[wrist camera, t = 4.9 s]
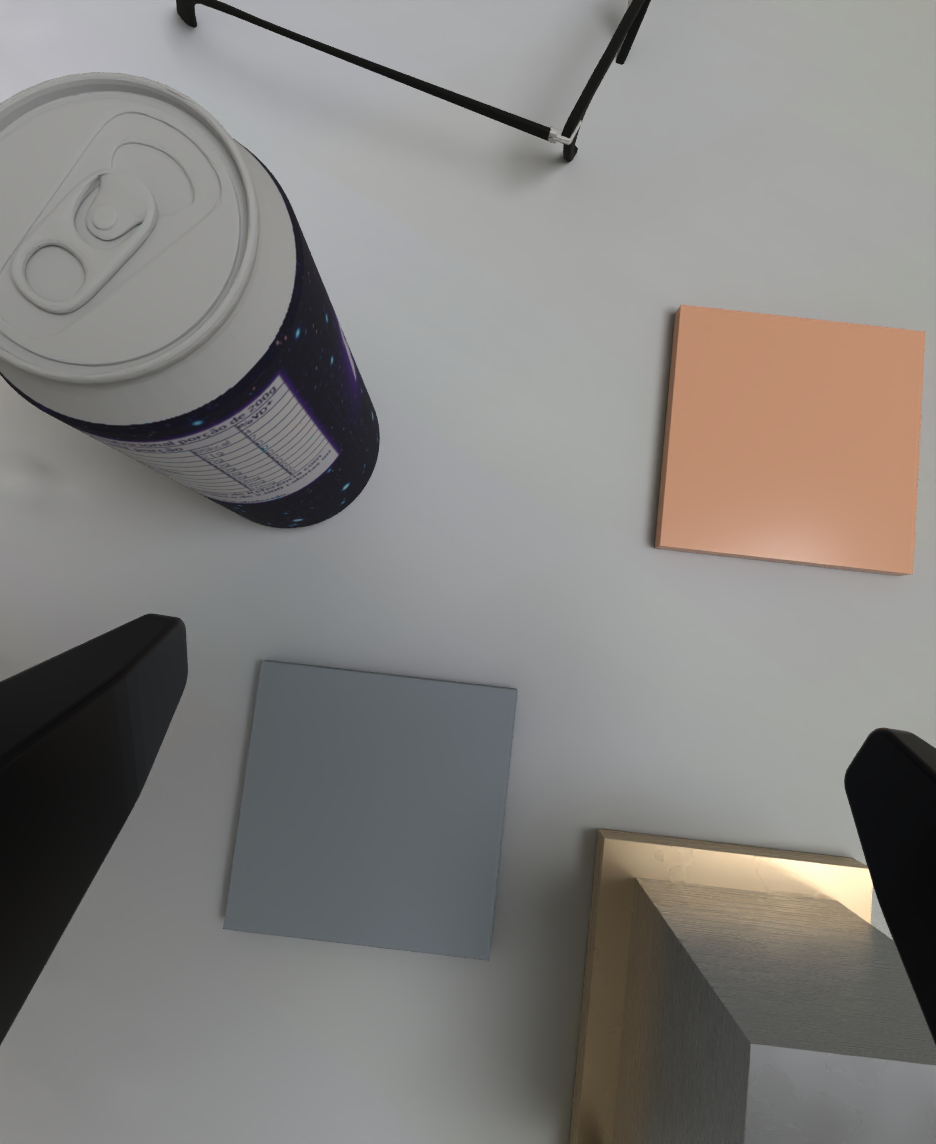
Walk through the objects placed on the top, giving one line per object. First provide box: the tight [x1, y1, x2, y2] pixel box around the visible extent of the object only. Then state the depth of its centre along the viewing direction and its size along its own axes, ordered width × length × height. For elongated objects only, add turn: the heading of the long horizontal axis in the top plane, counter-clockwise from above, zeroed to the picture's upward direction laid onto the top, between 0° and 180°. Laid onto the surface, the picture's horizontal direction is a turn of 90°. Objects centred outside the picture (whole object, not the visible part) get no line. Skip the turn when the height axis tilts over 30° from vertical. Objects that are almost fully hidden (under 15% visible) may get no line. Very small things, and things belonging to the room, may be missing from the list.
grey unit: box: [569, 829, 936, 1144], centre depth 16 cm, size 10×8×9 cm
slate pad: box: [223, 660, 517, 960], centre depth 20 cm, size 8×8×1 cm
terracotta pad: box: [655, 305, 925, 576], centre depth 22 cm, size 8×8×1 cm
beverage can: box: [0, 72, 380, 528], centre depth 16 cm, size 6×6×12 cm
